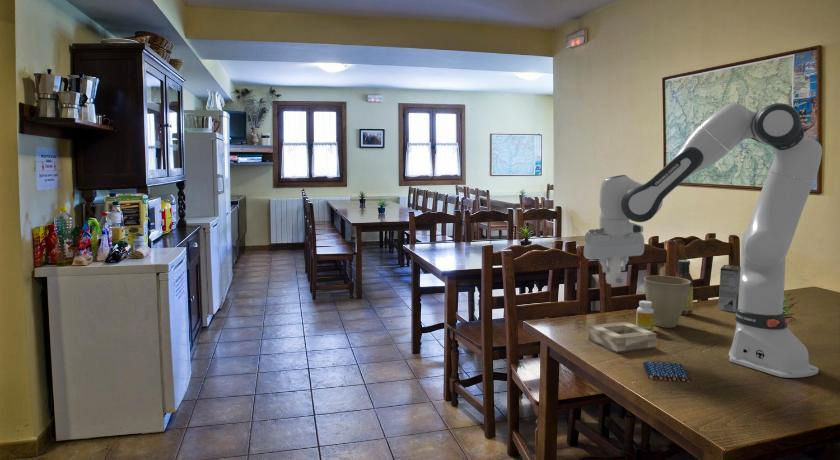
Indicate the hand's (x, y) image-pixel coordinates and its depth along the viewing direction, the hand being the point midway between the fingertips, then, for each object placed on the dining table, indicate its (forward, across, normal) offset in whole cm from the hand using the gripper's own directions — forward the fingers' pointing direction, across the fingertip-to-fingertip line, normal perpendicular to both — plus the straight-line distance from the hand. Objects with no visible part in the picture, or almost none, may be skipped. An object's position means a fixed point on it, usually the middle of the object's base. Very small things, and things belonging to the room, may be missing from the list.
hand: (613, 271), depth 186 cm
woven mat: (+23, -5, -29) cm, 38 cm away
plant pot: (+23, +28, +9) cm, 37 cm away
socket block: (+22, 0, -4) cm, 23 cm away
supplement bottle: (+22, +17, +6) cm, 29 cm away
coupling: (+4, 0, 0) cm, 4 cm away
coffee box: (+23, +67, +19) cm, 73 cm away
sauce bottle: (+23, +45, +19) cm, 54 cm away
